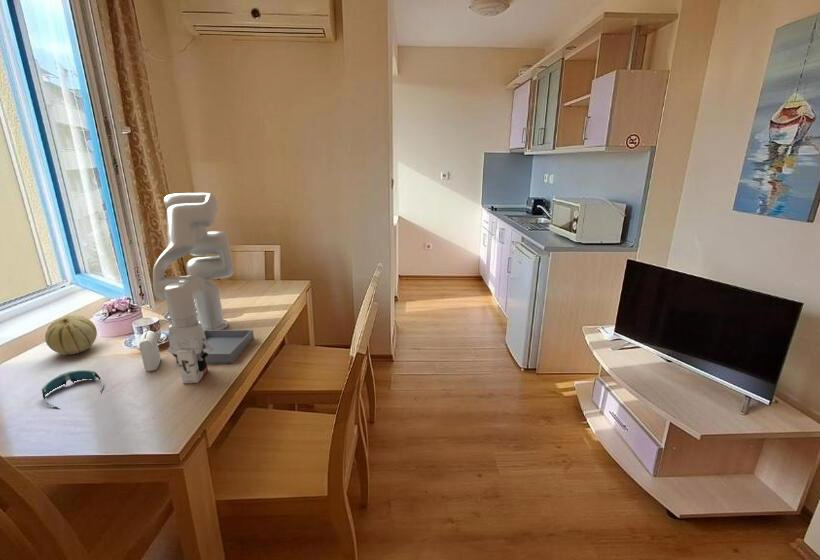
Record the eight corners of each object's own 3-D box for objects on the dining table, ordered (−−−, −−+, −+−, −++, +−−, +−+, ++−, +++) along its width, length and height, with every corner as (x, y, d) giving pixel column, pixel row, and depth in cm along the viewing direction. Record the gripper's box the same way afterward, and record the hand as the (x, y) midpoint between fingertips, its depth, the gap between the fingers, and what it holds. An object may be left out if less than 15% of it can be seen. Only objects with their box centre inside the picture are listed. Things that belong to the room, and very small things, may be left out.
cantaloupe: (93, 339, 157) (83, 305, 153) (107, 349, 149) (97, 314, 145) (46, 354, 146) (34, 318, 141) (58, 365, 138) (45, 327, 133)
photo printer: (148, 359, 141) (141, 329, 138) (162, 357, 143) (155, 326, 139) (144, 373, 133) (136, 340, 129) (158, 370, 134) (151, 338, 131)
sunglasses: (95, 375, 132) (92, 363, 130) (110, 396, 124) (107, 383, 122) (40, 394, 121) (36, 381, 119) (52, 418, 113) (48, 405, 111)
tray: (176, 363, 139) (174, 353, 138) (206, 338, 158) (204, 329, 157) (231, 363, 138) (229, 354, 137) (254, 338, 157) (252, 329, 156)
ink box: (194, 369, 134) (187, 339, 130) (208, 369, 134) (202, 339, 131) (182, 384, 126) (175, 352, 122) (197, 383, 126) (191, 351, 123)
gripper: (150, 324, 120) (162, 375, 126) (204, 325, 120) (213, 375, 126) (165, 315, 127) (176, 363, 133) (216, 315, 127) (224, 363, 133)
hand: (194, 368), depth 129 cm, fingers closed on ink box, 5 cm apart
